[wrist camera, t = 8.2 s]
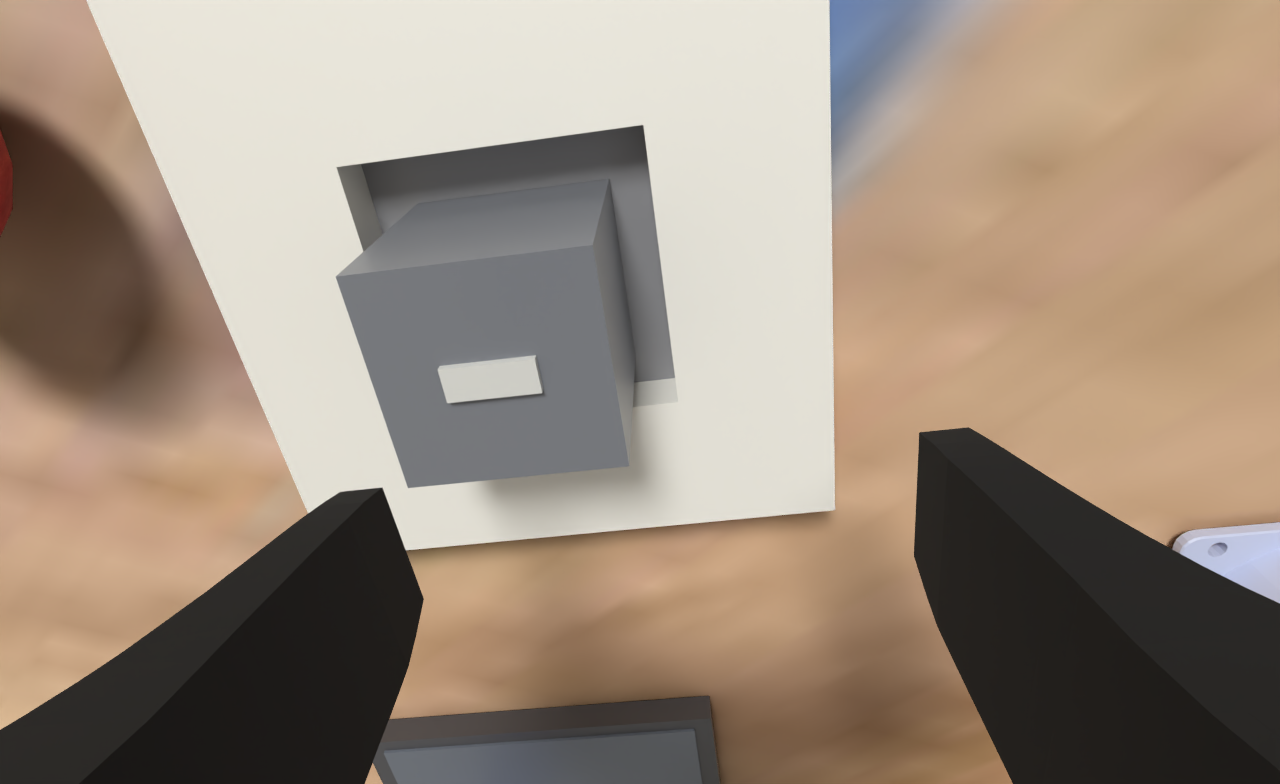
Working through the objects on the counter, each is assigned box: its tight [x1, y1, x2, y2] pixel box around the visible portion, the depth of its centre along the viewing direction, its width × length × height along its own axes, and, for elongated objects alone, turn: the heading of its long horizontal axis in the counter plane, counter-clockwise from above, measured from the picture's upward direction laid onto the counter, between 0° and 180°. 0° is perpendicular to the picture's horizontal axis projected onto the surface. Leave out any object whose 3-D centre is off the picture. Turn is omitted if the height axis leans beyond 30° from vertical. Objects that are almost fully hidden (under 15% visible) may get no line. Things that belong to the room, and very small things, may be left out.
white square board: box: [86, 0, 835, 550], centre depth 17 cm, size 14×14×2 cm
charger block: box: [336, 179, 636, 488], centre depth 16 cm, size 4×4×5 cm
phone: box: [373, 696, 721, 784], centre depth 27 cm, size 12×6×1 cm, turn 98°
